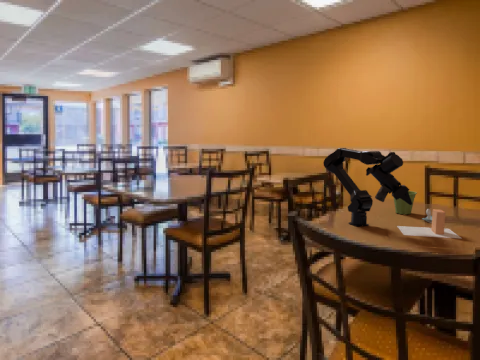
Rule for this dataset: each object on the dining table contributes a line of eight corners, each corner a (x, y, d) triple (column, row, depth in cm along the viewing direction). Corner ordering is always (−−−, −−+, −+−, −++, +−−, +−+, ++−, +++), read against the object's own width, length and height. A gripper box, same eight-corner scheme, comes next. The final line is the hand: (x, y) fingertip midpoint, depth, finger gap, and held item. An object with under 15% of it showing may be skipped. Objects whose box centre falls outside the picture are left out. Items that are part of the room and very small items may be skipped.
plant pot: (409, 210, 175) (411, 190, 173) (419, 216, 163) (421, 193, 162) (387, 210, 176) (388, 190, 175) (395, 215, 164) (396, 193, 163)
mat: (403, 235, 130) (404, 234, 130) (396, 226, 143) (396, 225, 143) (461, 239, 125) (462, 238, 125) (448, 229, 138) (448, 228, 138)
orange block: (435, 234, 131) (436, 212, 130) (431, 230, 136) (432, 209, 135) (443, 234, 130) (445, 212, 129) (439, 230, 135) (440, 209, 134)
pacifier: (440, 222, 151) (427, 219, 156) (442, 209, 150) (428, 207, 155) (434, 225, 147) (420, 222, 151) (435, 211, 146) (421, 209, 150)
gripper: (366, 186, 146) (391, 212, 145) (371, 193, 128) (400, 222, 127) (386, 169, 143) (412, 195, 142) (394, 174, 125) (424, 203, 124)
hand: (411, 204), depth 134 cm, fingers closed
